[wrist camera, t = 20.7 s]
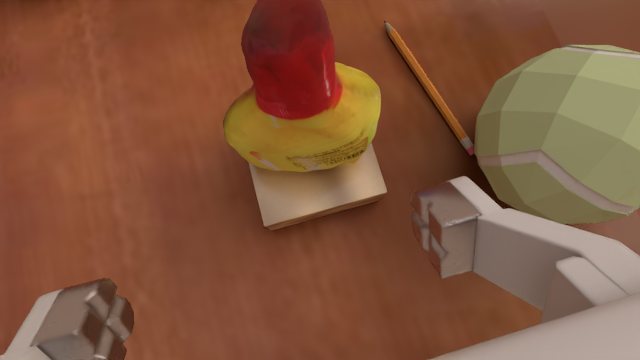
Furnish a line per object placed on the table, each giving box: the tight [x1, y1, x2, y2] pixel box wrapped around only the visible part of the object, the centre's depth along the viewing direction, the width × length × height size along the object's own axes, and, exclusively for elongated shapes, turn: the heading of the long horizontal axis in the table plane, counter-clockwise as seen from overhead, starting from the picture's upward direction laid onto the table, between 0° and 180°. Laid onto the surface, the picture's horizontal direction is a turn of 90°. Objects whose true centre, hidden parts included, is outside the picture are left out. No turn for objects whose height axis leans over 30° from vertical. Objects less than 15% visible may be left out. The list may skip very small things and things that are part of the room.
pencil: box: [384, 21, 474, 155], centre depth 40 cm, size 1×1×19 cm
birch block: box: [248, 142, 387, 231], centre depth 36 cm, size 12×12×5 cm
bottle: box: [223, 0, 381, 172], centre depth 24 cm, size 12×6×20 cm, turn 99°
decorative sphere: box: [474, 45, 640, 224], centre depth 31 cm, size 15×15×15 cm
